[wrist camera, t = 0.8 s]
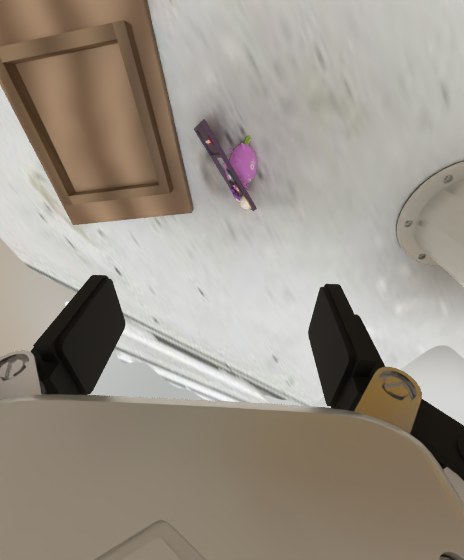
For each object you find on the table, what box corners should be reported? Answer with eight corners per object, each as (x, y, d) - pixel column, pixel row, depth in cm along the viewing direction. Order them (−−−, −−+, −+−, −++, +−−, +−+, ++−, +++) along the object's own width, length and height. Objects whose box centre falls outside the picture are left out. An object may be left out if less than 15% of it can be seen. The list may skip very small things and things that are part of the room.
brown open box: (140, -27, 21) (127, -41, 19) (193, 209, 33) (189, 217, 30) (-27, 13, 23) (-56, 5, 21) (78, 221, 35) (66, 229, 33)
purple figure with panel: (193, 127, 22) (247, 215, 26) (244, 88, 21) (291, 184, 25) (188, 133, 28) (233, 204, 32) (228, 103, 27) (268, 179, 31)
